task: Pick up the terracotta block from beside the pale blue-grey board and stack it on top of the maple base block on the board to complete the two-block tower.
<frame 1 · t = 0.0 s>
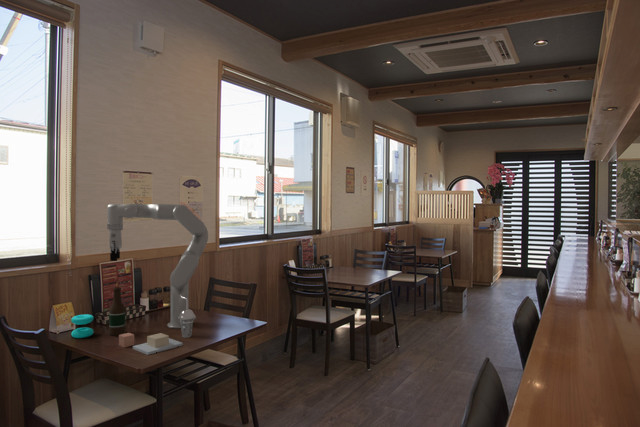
hand: (115, 259, 240), 37 cm above the table, tool pointing down, fingers open, 9 cm apart
turquoise yo-yo: (82, 336, 230), on the table
cup with straw: (186, 336, 231), on the table
terracotta block: (126, 345, 216), on the table
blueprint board: (158, 347, 213), on the table
beer bottle: (117, 334, 234), on the table
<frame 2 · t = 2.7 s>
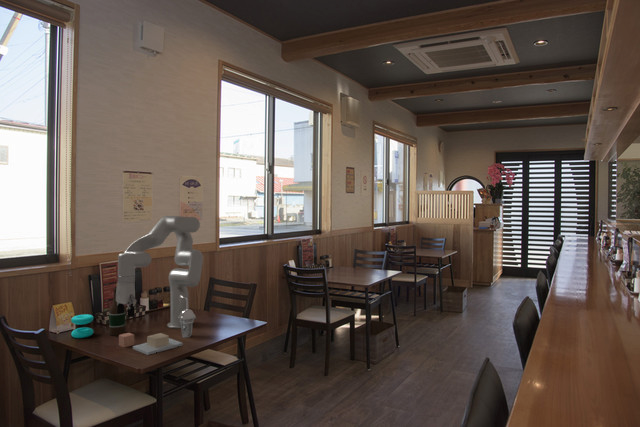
hand: (125, 315, 215), 14 cm above the table, tool pointing down, fingers open, 9 cm apart
nothing on the table moved.
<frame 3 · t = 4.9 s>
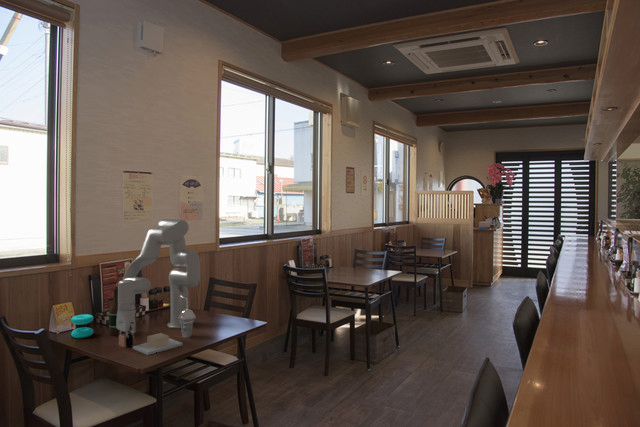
hand: (126, 343, 216), 0 cm above the table, tool pointing down, fingers closed on terracotta block, 5 cm apart
terracotta block: (126, 345, 216), on the table, touching gripper
everything else where it was.
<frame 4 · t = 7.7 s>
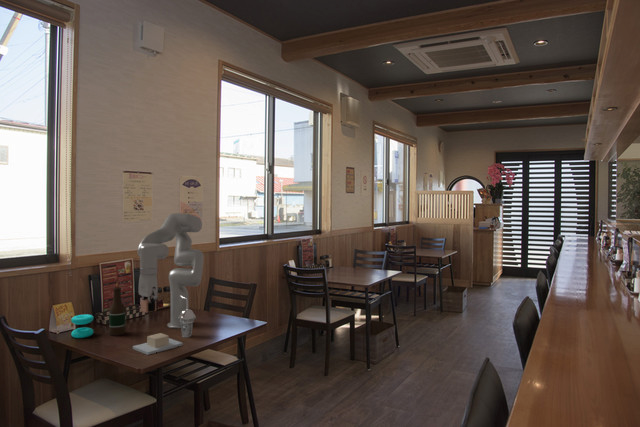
hand: (148, 309, 213), 17 cm above the table, tool pointing down, fingers closed on terracotta block, 4 cm apart
terracotta block: (148, 310, 213), point 17 cm above the table, touching gripper
everything else where it was.
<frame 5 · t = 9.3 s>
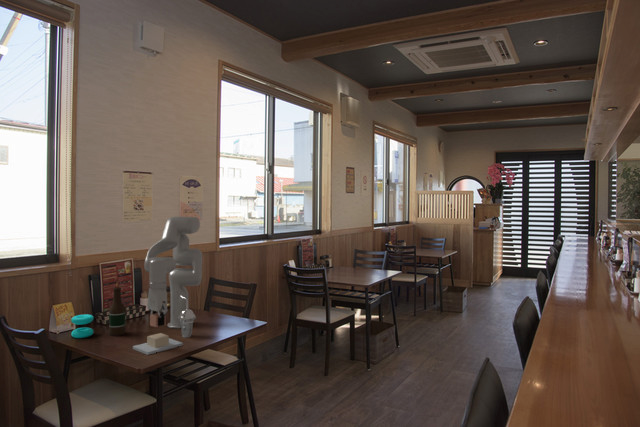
hand: (157, 324, 212), 11 cm above the table, tool pointing down, fingers closed on terracotta block, 4 cm apart
terracotta block: (157, 325, 212), point 10 cm above the table, touching gripper
everything else where it was.
when the fingers open (7 cm above the table, at t = 10.7 s): terracotta block drops 2 cm, resting on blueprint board.
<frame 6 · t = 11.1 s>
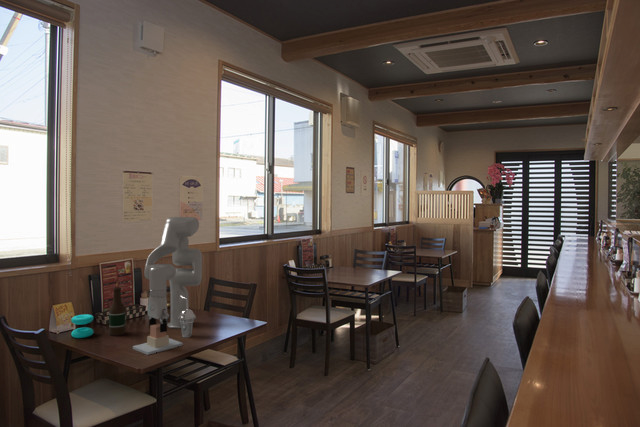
hand: (158, 329, 213), 8 cm above the table, tool pointing down, fingers open, 8 cm apart
terracotta block: (157, 336, 213), point 5 cm above the table, touching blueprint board
everything else where it was.
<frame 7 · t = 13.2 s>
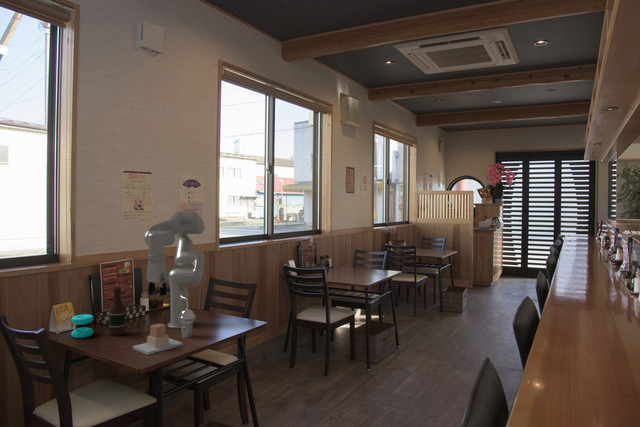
hand: (157, 293, 218), 24 cm above the table, tool pointing down, fingers open, 9 cm apart
nothing on the table moved.
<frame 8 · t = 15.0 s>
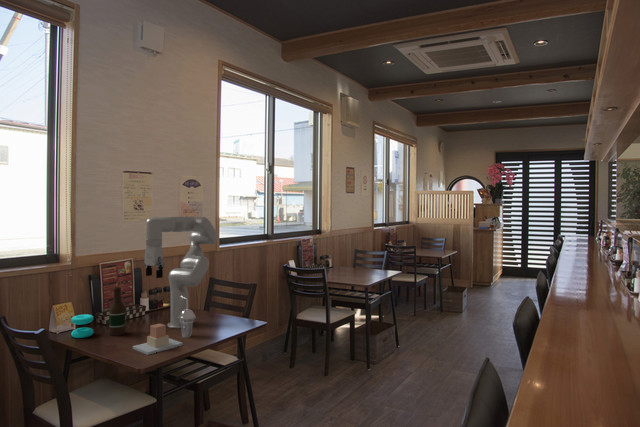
hand: (154, 276, 229), 30 cm above the table, tool pointing down, fingers open, 9 cm apart
nothing on the table moved.
at the end: terracotta block 0.1 cm off-centre on the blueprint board, point 5.2 cm above the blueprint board's base; terracotta block tilted 0°; the gripper is holding nothing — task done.
